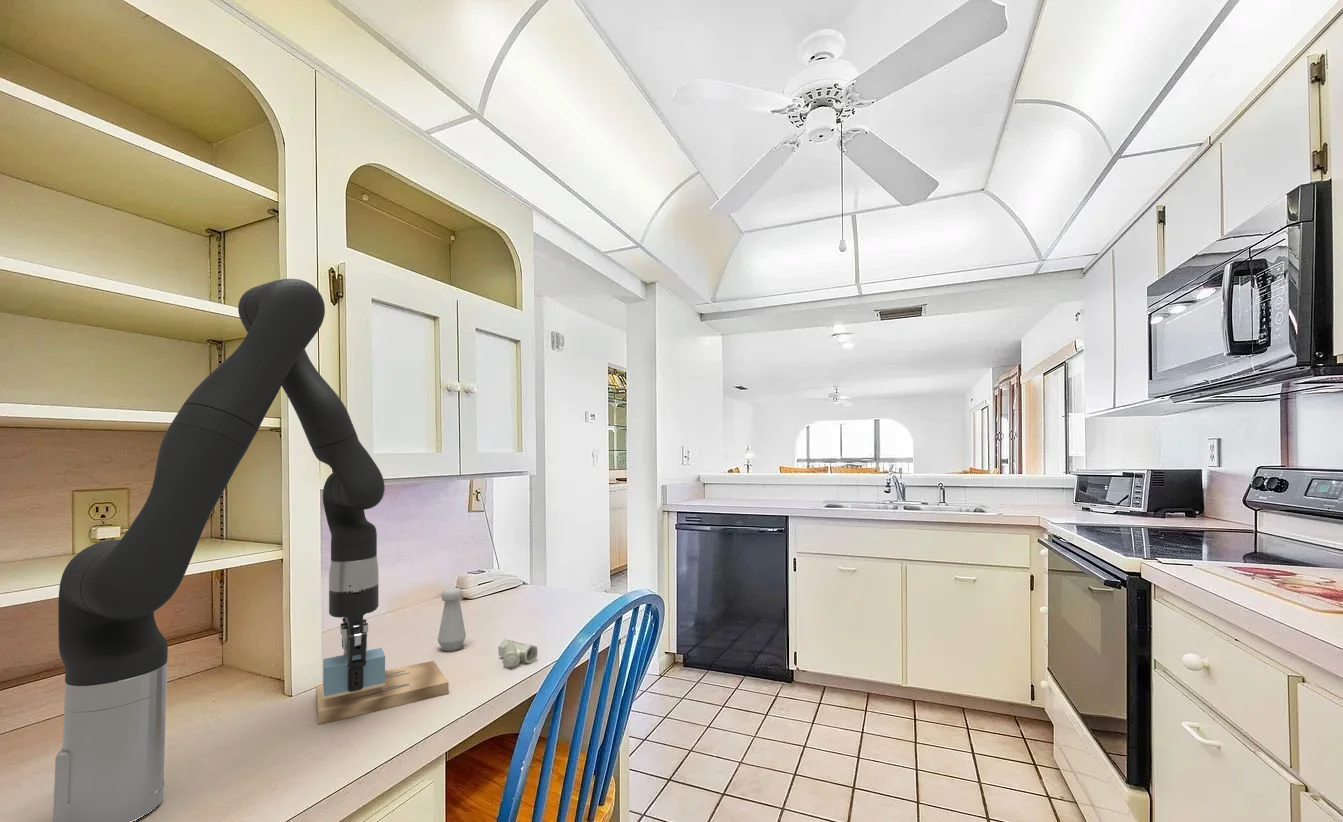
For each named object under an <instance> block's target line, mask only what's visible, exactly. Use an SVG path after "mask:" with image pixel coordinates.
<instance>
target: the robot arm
mask: <svg viewBox="0 0 1343 822" xmlns="http://www.w3.org/2000/svg"><path fill="white" fill-rule="evenodd" d="M325 307H326V305H325V301H324V299H323V297H322V294H321V293H320V291H319V290H318V289H317V288H316V287H315V286H314V285H313V284H312V283H310V282H307V281H306V280H303V279H298V278H282V279H277V280H272V281H270V282H266V283H263V284H259V285H257V286H256V285H255V286H254V287H252V288H249V289H248V290H246V291H245V292H244V293H243V294H242V295H241V297H240V298H239V300H238V307H237V310H238V311H237V312H238V316H239V319H240V321H241V323H242V325H243V327H244V329H245V330H246V336H245V337H244V339H243V341H242V342H241V343H240V344H239V346H238V347H237V348H236V349H235V350H234V351H233V352H232V354H231V355H229V356H228V357H227V358H226V359H225V360H223V362H222V363H221V364H220V365H218V367H216V368H214V370H213V371H212V372H211V373H209V374H208V375H207V376H206V377H205V378H204V379H203V380H202V381H201V382H200V383H199V384H198V386H197V387H195V389H194V390H193V391H192V392H191V394H190V395H189V396H188V397H187V399H186V400H185V401H184V403H183V404H182V406H181V407H180V409H179V410H178V412H177V414H176V415H175V417H173V420H172V421H171V423H170V425H169V426H168V428H167V430H166V432H165V433H164V435H163V438H162V441H161V444H160V446H159V450H158V454H157V459H156V466H155V471H154V477H153V481H152V487H151V488H150V493H149V495H148V497H147V498H146V501H145V503H144V505H143V506H142V508H141V510H140V511H139V513H138V515H137V516H136V517H135V519H134V521H133V522H132V524H130V526H129V528H128V529H127V530H126V532H125V533H124V535H123V536H122V537H121V539H109V540H104V541H103V540H102V541H100V542H97V543H93V544H92V545H89V546H87V547H85V548H83V549H82V550H81V551H79V552H78V553H77V554H76V555H75V556H73V558H71V559H70V561H69V562H68V563H67V564H66V567H65V569H64V570H63V572H62V575H61V578H60V581H59V586H58V587H59V588H58V589H59V590H58V602H57V603H58V608H57V609H58V610H57V611H58V612H57V613H58V616H57V619H58V620H57V621H58V622H57V625H58V651H59V655H60V658H61V661H62V663H63V666H64V682H65V684H64V704H63V705H64V706H63V722H62V724H63V727H62V745H61V746H62V747H61V749H60V750H59V751H58V753H57V754H56V756H55V758H54V759H55V761H54V787H53V788H54V789H53V807H52V811H53V812H52V822H130V821H133V820H135V819H137V818H139V817H141V816H143V815H145V814H147V813H148V812H150V811H151V810H153V809H154V808H156V807H157V806H158V805H159V804H160V803H161V804H162V802H163V800H164V799H163V798H164V787H165V779H164V778H165V755H166V753H165V752H166V751H165V750H166V721H167V720H166V719H167V718H166V716H167V714H166V713H167V690H168V689H167V688H168V687H167V686H168V685H167V684H168V683H167V681H168V657H169V656H168V651H169V649H168V648H169V646H168V641H167V639H166V638H165V637H164V635H163V634H162V633H161V631H160V629H159V628H158V626H157V622H156V619H155V612H156V611H157V610H159V609H160V608H162V607H163V606H164V605H165V604H166V603H167V602H168V601H170V599H171V598H172V597H173V596H174V595H175V593H176V591H177V590H178V589H179V586H180V585H181V583H182V580H183V579H184V576H185V575H186V573H187V571H188V570H187V569H188V568H189V565H190V563H191V560H192V558H193V556H194V552H195V550H196V548H197V546H198V543H199V541H200V538H201V536H202V533H203V531H204V529H205V526H206V524H207V523H208V520H209V518H210V516H211V515H212V512H213V511H214V509H215V507H216V505H217V504H218V501H219V500H220V498H221V497H222V495H223V493H224V491H225V489H226V487H227V485H228V484H229V482H230V480H231V478H232V477H233V475H234V473H235V471H236V469H237V468H238V465H239V464H240V462H241V461H242V459H243V457H244V455H246V453H247V450H248V449H249V447H250V445H251V444H252V442H253V440H254V438H255V436H256V435H257V433H258V432H259V429H260V427H261V424H262V422H263V421H264V418H265V417H266V415H267V413H268V411H269V410H270V408H271V406H272V404H273V402H274V400H275V399H276V397H277V395H278V393H279V391H280V389H281V387H282V390H283V391H284V393H285V394H286V397H287V398H288V400H289V402H290V404H291V405H292V407H293V410H294V412H295V414H296V416H297V418H298V420H299V422H300V424H301V427H302V430H303V432H304V434H305V437H306V439H307V441H308V443H309V446H310V447H311V450H312V452H313V454H314V456H315V458H316V459H317V460H318V461H320V462H322V463H324V464H326V465H327V466H329V467H330V469H331V470H332V473H331V474H329V475H328V476H327V478H326V481H324V486H323V490H322V503H323V504H322V505H323V508H324V512H325V517H326V522H327V525H328V529H329V532H330V536H331V537H330V539H331V540H330V566H329V567H330V568H329V571H328V573H329V574H328V614H329V616H331V617H334V618H337V619H338V618H339V619H341V620H342V621H341V622H342V623H341V622H340V624H339V625H340V626H339V627H340V629H339V630H340V634H341V647H342V650H343V655H347V668H348V691H349V692H353V691H357V690H361V689H362V688H363V666H365V665H366V651H367V650H368V632H369V623H368V622H367V619H366V618H364V616H365V615H366V614H371V613H373V612H375V611H376V610H377V609H378V608H379V562H378V554H377V553H378V549H377V547H378V543H377V542H378V541H377V540H378V538H377V537H378V534H377V533H378V532H377V528H376V526H375V525H374V524H373V523H372V522H370V521H369V520H368V519H367V517H366V514H365V510H369V509H373V508H374V507H376V506H377V505H379V503H380V502H381V501H382V500H383V497H384V494H385V491H386V490H385V480H384V477H383V474H382V473H381V470H380V469H379V467H378V465H377V464H376V462H375V461H374V460H373V458H372V457H371V455H370V454H369V452H368V451H367V449H366V448H365V447H364V446H363V444H362V443H361V442H360V440H359V436H358V433H357V432H356V429H355V427H354V425H353V422H352V419H351V416H350V414H349V412H348V410H347V407H346V406H345V404H344V403H343V401H342V400H341V398H340V397H339V395H338V394H337V393H336V391H335V390H334V389H333V388H332V387H331V386H330V385H329V383H328V382H327V381H326V380H325V379H324V378H323V376H322V375H321V374H320V372H319V371H318V370H317V369H316V367H315V365H314V364H313V363H312V361H311V359H310V357H309V355H308V353H307V350H306V348H307V346H308V345H309V344H310V343H311V341H312V340H313V338H315V336H316V334H317V333H318V332H319V330H320V328H321V327H322V325H323V322H324V318H325V314H326V308H325ZM355 655H360V659H358V660H353V661H352V657H353V656H355ZM162 799H163V800H162ZM161 801H162V802H161ZM161 804H160V805H161ZM160 805H159V806H160ZM159 806H158V807H159ZM158 807H157V808H158ZM157 808H156V809H157ZM153 811H154V810H153Z"/></svg>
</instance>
